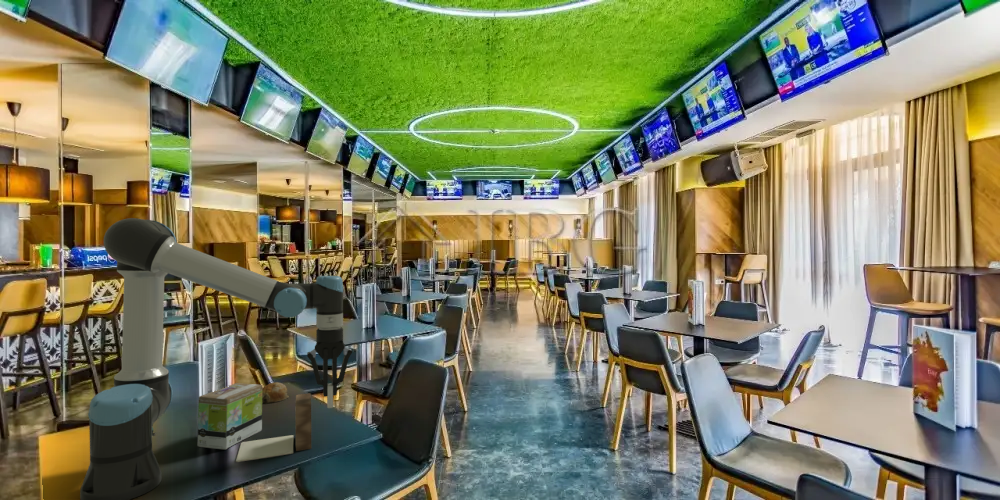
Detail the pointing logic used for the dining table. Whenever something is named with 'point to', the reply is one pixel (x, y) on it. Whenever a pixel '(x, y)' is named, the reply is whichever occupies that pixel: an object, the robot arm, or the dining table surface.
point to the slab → (303, 421)
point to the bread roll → (274, 392)
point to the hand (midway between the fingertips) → (330, 406)
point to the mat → (265, 448)
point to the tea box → (229, 415)
